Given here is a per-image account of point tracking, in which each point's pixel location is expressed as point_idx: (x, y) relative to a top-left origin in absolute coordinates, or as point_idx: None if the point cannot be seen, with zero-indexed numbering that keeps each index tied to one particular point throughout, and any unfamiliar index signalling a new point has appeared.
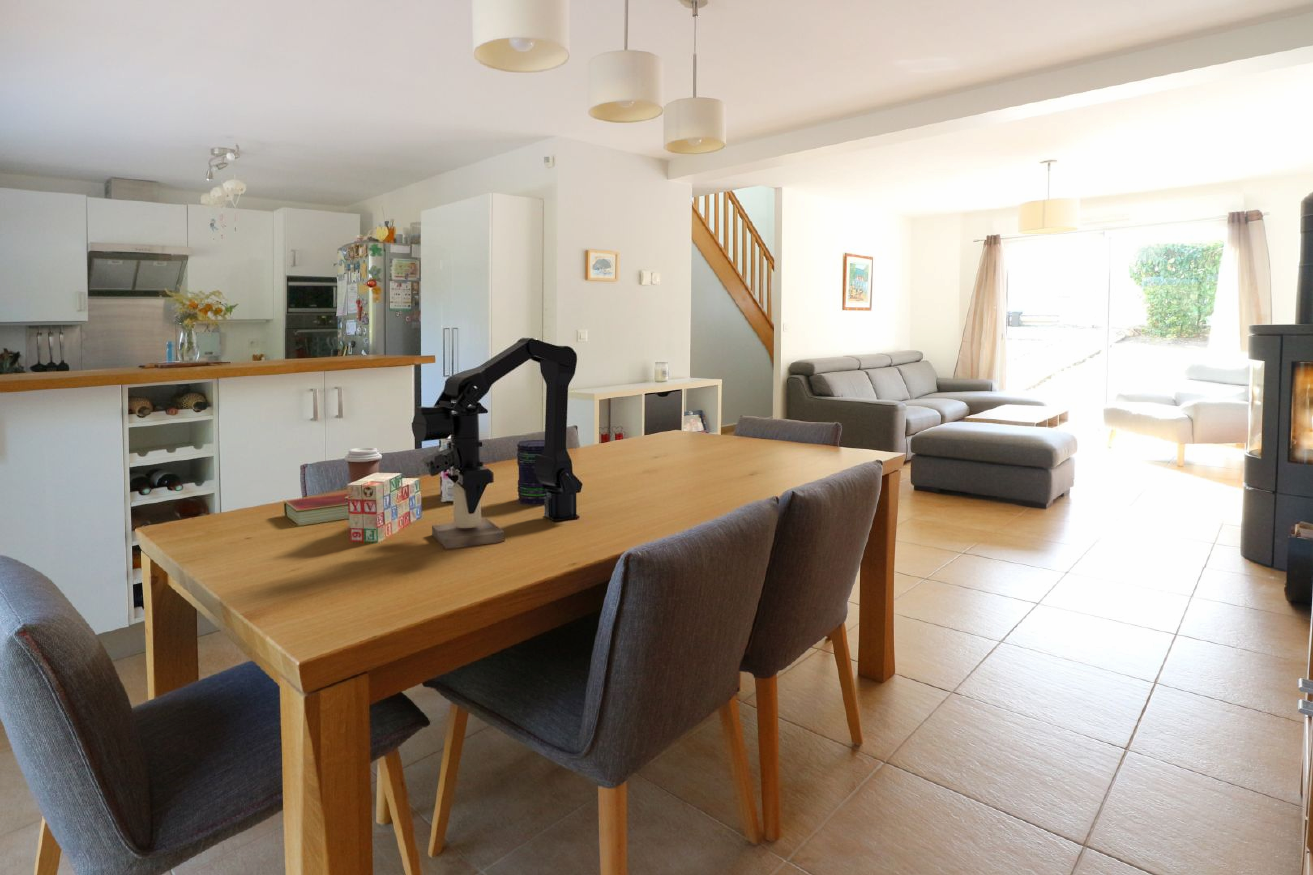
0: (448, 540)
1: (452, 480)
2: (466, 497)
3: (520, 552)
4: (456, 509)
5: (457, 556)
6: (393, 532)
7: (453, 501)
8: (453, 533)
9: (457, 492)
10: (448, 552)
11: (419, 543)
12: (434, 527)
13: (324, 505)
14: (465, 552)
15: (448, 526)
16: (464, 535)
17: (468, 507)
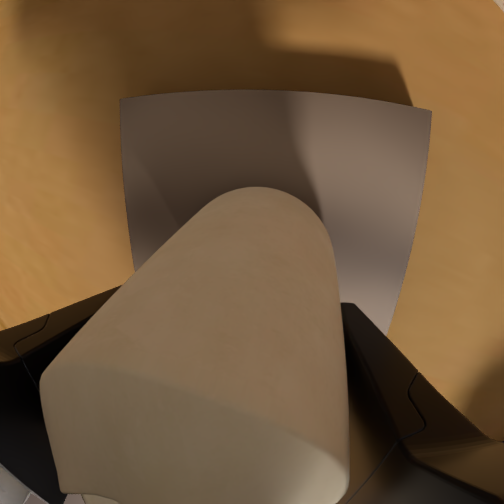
0: (122, 109)
1: (433, 477)
2: (36, 320)
3: (57, 295)
4: (194, 226)
5: (60, 125)
6: (500, 4)
7: (239, 249)
8: (205, 154)
9: (92, 322)
10: (107, 101)
11: (296, 14)
12: (388, 106)
13: None
14: (86, 159)
15: (367, 179)
16: (149, 192)
17: (104, 292)
